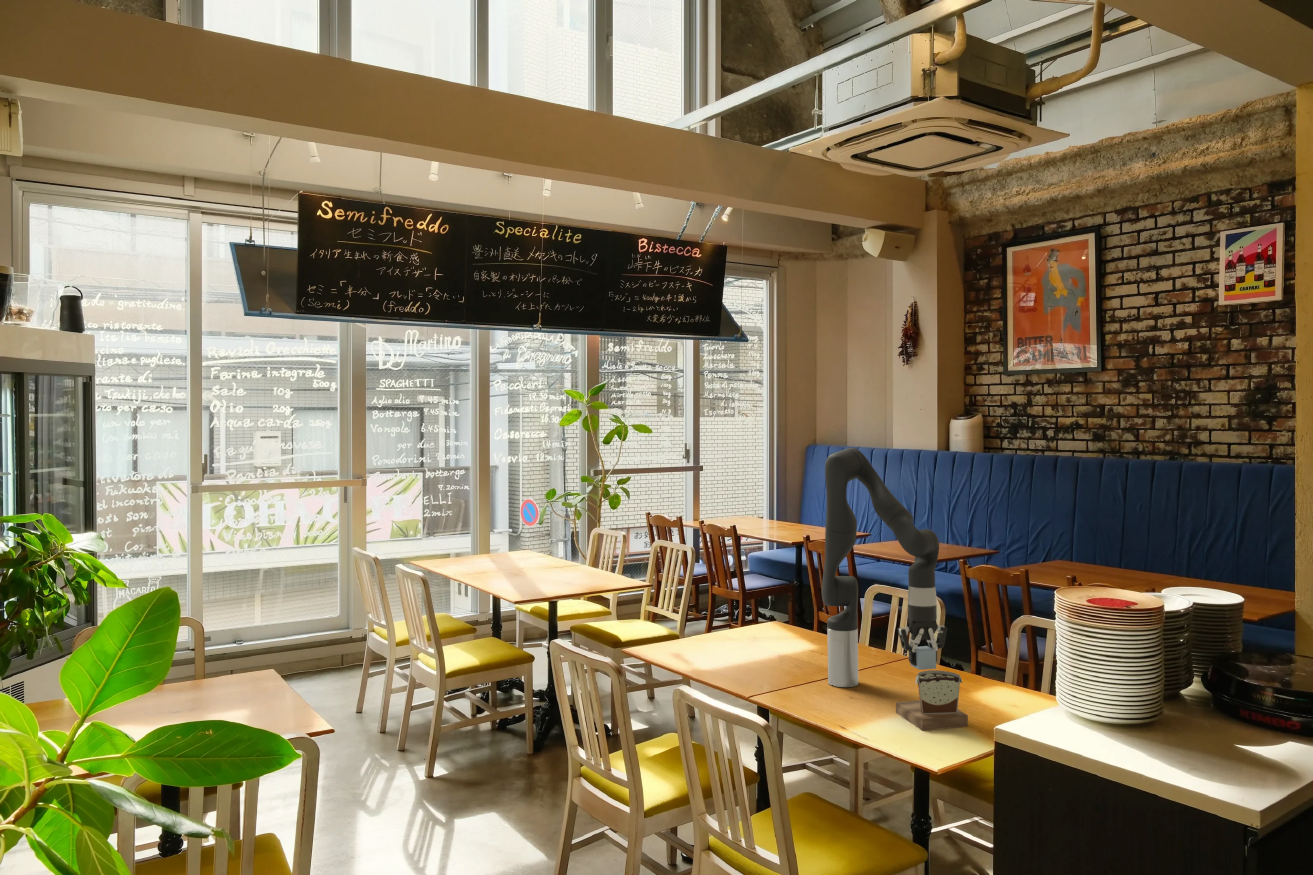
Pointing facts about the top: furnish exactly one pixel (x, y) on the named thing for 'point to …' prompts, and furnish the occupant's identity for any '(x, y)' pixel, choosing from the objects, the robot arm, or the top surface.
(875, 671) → the top surface
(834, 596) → the robot arm
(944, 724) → the walnut slab
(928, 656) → the slate cube
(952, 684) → the food container
